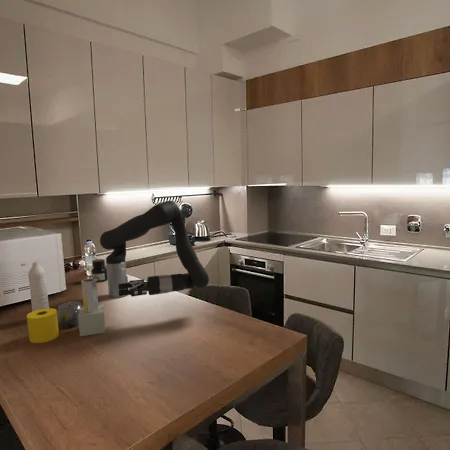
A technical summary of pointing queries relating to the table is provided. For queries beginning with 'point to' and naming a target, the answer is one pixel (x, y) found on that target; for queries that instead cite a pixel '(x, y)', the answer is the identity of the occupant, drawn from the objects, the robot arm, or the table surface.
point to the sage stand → (91, 322)
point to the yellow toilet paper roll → (42, 325)
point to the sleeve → (90, 295)
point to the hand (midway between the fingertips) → (118, 289)
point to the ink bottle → (99, 270)
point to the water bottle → (37, 286)
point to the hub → (69, 314)
